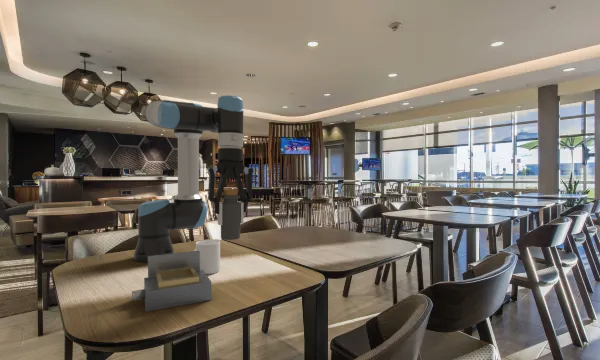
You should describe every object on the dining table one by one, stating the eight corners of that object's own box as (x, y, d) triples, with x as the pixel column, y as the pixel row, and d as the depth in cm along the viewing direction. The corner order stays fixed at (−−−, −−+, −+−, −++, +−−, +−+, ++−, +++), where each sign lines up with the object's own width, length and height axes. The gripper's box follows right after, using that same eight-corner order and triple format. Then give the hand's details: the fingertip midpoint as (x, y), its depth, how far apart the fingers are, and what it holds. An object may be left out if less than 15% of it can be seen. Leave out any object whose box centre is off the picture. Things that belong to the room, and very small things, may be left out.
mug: (198, 279, 104) (198, 247, 104) (181, 275, 108) (181, 244, 108) (225, 270, 114) (225, 241, 114) (208, 266, 118) (208, 238, 118)
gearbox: (132, 297, 88) (131, 257, 88) (202, 286, 97) (202, 250, 97) (132, 314, 78) (131, 269, 78) (211, 300, 87) (211, 259, 86)
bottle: (233, 235, 103) (233, 188, 102) (244, 238, 98) (244, 189, 98) (217, 237, 98) (217, 189, 98) (227, 241, 94) (227, 190, 94)
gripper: (201, 146, 90) (201, 228, 91) (264, 148, 99) (263, 223, 99) (196, 147, 97) (196, 224, 97) (255, 149, 105) (255, 220, 106)
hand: (230, 223), depth 98 cm, fingers closed on bottle, 6 cm apart
